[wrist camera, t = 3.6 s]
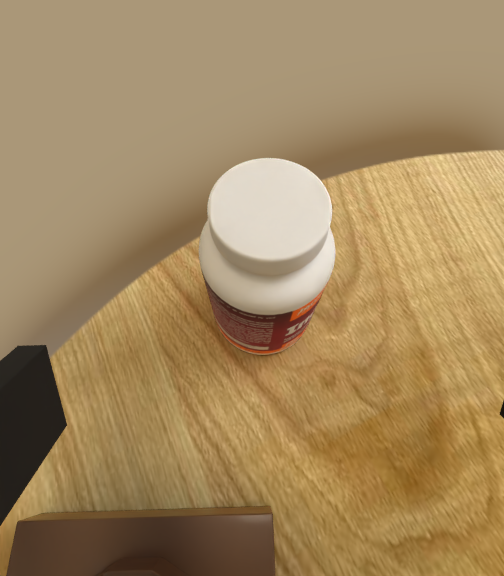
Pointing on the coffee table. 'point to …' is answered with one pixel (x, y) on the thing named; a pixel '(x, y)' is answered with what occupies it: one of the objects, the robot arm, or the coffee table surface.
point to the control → (146, 543)
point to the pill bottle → (266, 252)
